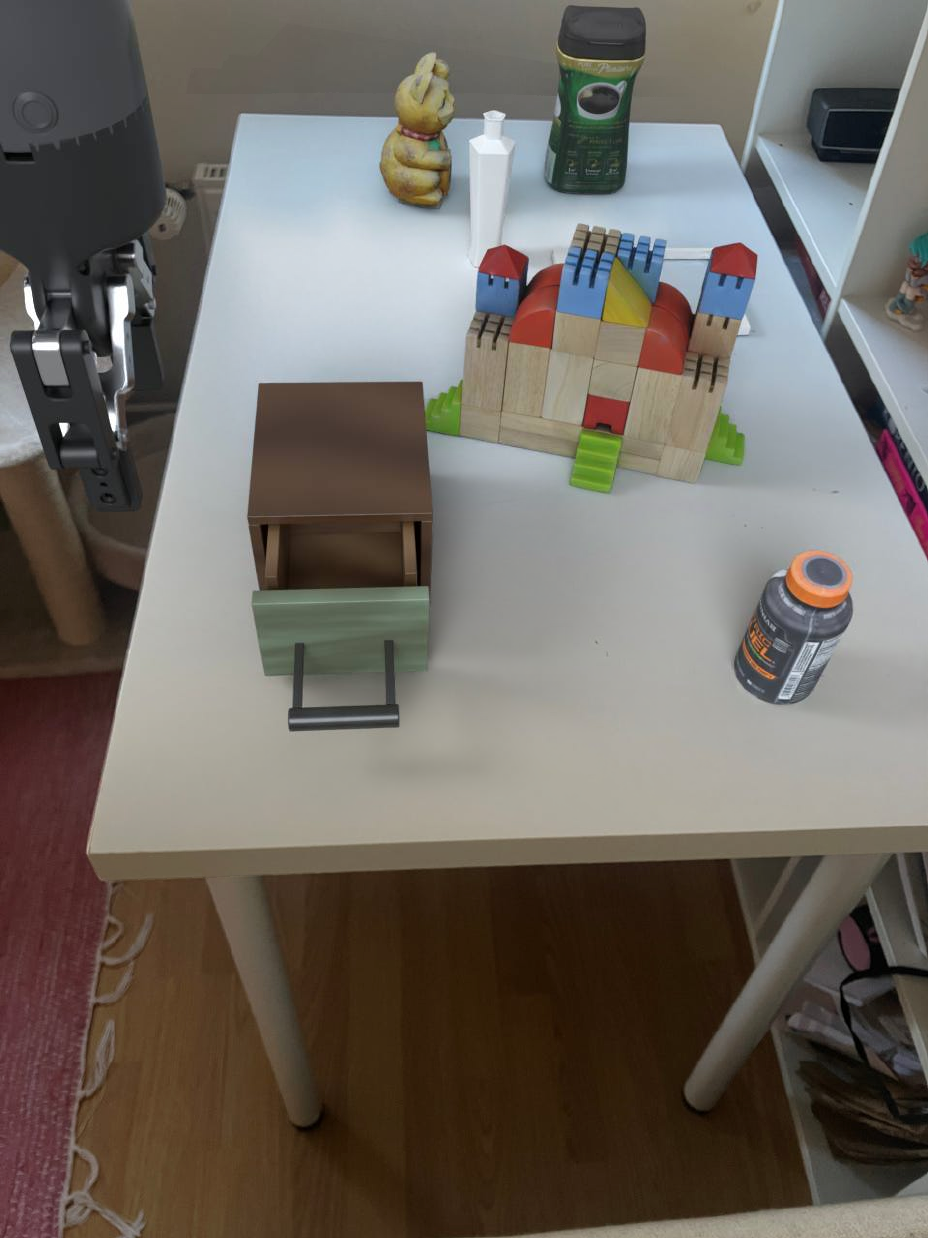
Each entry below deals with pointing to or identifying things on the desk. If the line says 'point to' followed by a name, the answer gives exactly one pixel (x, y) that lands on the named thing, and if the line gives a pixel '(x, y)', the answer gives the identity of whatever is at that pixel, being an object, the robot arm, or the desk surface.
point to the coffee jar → (594, 98)
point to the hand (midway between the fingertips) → (131, 443)
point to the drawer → (342, 613)
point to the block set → (602, 359)
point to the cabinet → (340, 461)
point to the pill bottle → (795, 628)
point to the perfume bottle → (489, 185)
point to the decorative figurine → (420, 137)
